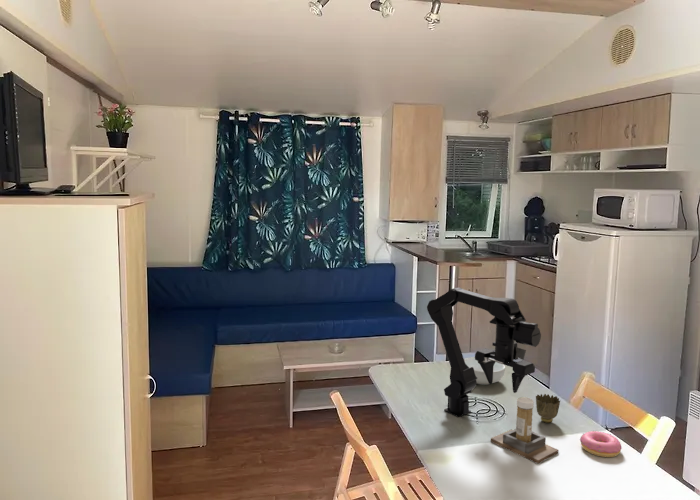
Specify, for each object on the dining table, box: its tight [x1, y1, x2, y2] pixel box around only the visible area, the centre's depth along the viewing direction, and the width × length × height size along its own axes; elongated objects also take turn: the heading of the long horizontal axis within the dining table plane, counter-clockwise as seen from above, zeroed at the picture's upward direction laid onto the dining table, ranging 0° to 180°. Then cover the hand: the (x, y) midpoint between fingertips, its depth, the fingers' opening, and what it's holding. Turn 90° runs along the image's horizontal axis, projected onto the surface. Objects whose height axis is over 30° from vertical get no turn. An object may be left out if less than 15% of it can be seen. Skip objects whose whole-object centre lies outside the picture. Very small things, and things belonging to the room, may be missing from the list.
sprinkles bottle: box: [515, 396, 535, 443], centre depth 156 cm, size 5×5×14 cm
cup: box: [535, 393, 561, 424], centre depth 174 cm, size 8×7×8 cm
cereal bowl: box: [464, 356, 506, 386], centre depth 210 cm, size 17×17×7 cm
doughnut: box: [579, 430, 623, 458], centre depth 156 cm, size 11×11×4 cm
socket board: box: [490, 428, 559, 464], centre depth 157 cm, size 16×10×4 cm, turn 37°
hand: (502, 388), depth 168 cm, fingers open, 9 cm apart
